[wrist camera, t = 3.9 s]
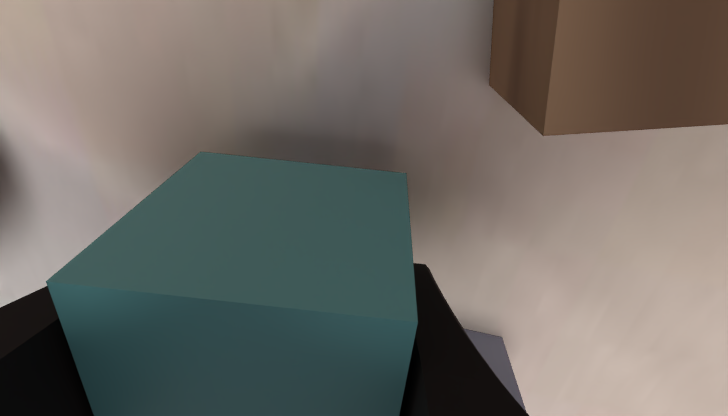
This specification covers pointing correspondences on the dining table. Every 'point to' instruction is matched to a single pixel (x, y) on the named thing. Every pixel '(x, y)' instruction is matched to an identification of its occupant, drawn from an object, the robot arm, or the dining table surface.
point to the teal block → (248, 294)
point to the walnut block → (611, 63)
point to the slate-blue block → (496, 360)
